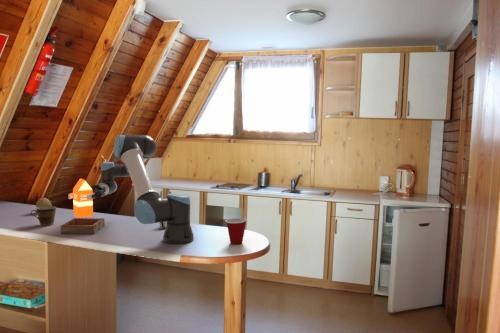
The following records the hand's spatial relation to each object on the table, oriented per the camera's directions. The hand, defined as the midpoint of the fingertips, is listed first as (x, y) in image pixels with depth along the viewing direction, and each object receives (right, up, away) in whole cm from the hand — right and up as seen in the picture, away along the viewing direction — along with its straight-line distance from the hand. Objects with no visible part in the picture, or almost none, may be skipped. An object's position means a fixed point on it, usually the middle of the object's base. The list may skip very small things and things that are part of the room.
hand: (78, 196), depth 216 cm
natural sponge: (-42, -14, +47) cm, 64 cm away
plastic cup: (+84, -22, -14) cm, 88 cm away
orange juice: (0, -11, +5) cm, 12 cm away
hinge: (+45, -18, +19) cm, 53 cm away
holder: (0, -18, +6) cm, 19 cm away
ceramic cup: (-26, -17, +15) cm, 35 cm away
